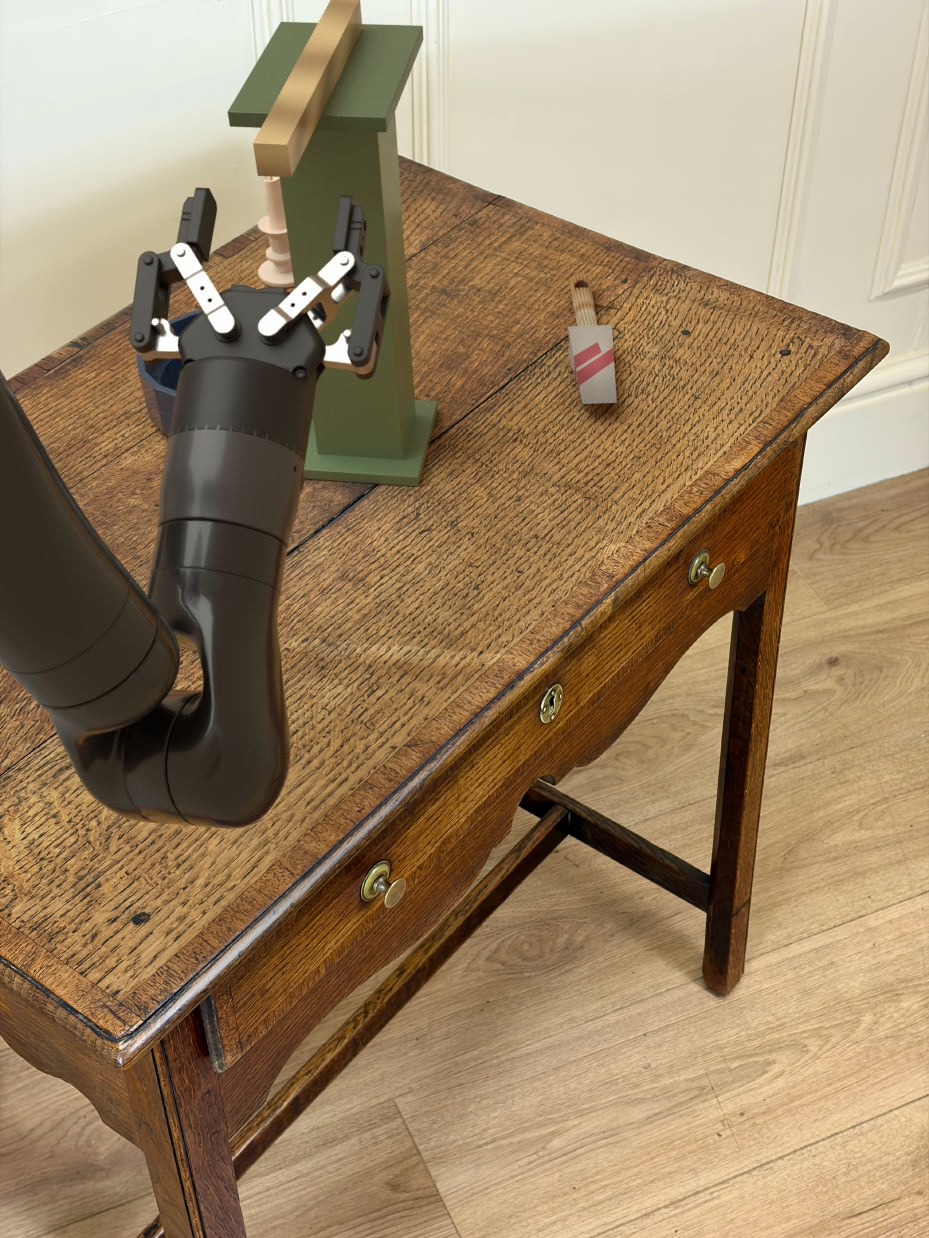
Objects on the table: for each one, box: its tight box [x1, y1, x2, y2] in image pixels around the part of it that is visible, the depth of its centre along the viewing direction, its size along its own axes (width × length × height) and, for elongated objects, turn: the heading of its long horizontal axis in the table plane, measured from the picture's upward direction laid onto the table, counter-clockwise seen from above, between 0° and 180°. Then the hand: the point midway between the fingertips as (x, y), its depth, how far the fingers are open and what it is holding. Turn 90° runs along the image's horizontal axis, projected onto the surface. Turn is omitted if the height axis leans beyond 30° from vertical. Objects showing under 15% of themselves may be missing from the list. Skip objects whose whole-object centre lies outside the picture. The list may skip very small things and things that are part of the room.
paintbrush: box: [567, 272, 618, 405], centre depth 114 cm, size 4×3×20 cm
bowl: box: [135, 308, 203, 437], centre depth 109 cm, size 13×13×6 cm
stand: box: [227, 21, 439, 487], centre depth 96 cm, size 10×14×31 cm
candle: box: [257, 176, 295, 289], centre depth 122 cm, size 5×5×10 cm
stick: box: [252, 0, 363, 177], centre depth 81 cm, size 21×2×2 cm, turn 172°
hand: (277, 198), depth 75 cm, fingers open, 8 cm apart
